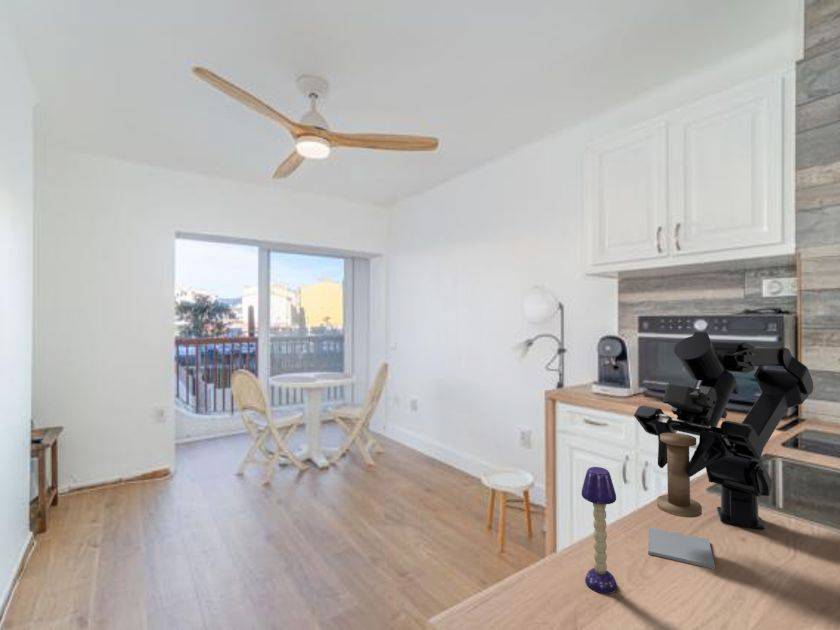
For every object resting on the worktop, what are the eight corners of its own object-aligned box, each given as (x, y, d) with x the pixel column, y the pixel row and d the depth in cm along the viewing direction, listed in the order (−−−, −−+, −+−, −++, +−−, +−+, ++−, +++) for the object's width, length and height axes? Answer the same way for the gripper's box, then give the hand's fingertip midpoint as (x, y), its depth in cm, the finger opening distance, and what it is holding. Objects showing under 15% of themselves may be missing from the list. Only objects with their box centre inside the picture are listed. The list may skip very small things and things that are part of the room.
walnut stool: (668, 497, 76) (667, 429, 77) (708, 510, 71) (707, 437, 71) (649, 506, 73) (648, 435, 73) (690, 521, 68) (689, 444, 68)
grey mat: (649, 530, 78) (649, 527, 78) (708, 542, 74) (708, 539, 74) (648, 554, 70) (648, 550, 70) (714, 569, 66) (714, 565, 66)
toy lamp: (621, 597, 59) (619, 476, 59) (585, 593, 60) (584, 474, 60) (613, 577, 64) (611, 464, 64) (580, 573, 65) (578, 462, 65)
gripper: (639, 362, 82) (601, 428, 77) (752, 373, 66) (715, 457, 60) (664, 399, 86) (630, 465, 81) (777, 418, 70) (745, 501, 64)
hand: (673, 470), depth 71 cm, fingers closed on walnut stool, 4 cm apart
